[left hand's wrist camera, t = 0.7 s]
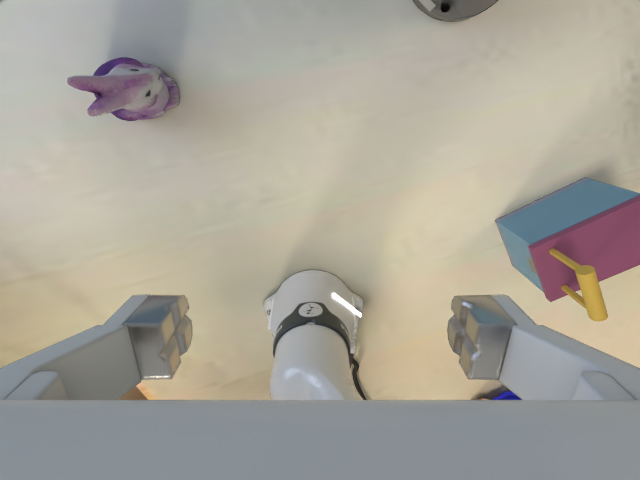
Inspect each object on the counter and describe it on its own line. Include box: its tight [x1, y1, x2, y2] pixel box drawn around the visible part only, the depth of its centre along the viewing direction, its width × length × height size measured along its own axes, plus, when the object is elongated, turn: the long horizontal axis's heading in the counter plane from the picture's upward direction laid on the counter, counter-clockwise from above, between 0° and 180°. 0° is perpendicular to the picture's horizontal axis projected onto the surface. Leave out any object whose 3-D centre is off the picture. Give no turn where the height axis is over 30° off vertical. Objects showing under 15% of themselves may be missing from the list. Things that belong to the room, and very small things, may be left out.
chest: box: [495, 177, 640, 292], centre depth 54 cm, size 15×10×10 cm, turn 119°
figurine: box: [67, 57, 180, 121], centre depth 43 cm, size 9×10×15 cm
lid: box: [528, 195, 640, 321], centre depth 45 cm, size 16×10×9 cm, turn 119°
